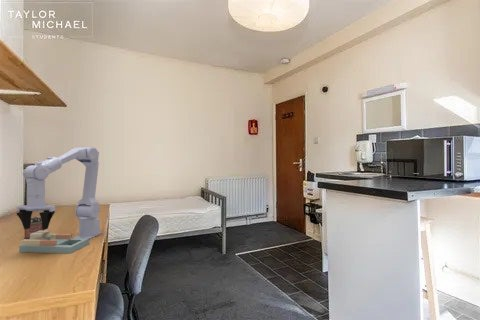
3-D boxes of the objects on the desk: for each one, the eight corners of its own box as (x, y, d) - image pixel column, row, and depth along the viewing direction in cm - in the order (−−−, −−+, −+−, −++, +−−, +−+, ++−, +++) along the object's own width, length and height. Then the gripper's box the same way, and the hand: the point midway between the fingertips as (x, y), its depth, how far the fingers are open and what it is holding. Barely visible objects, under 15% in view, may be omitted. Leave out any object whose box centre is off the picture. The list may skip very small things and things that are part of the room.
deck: (42, 242, 121) (42, 232, 121) (89, 243, 120) (89, 234, 120) (19, 251, 109) (19, 241, 109) (70, 253, 108) (70, 242, 108)
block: (39, 239, 118) (39, 230, 118) (50, 239, 117) (50, 230, 117) (29, 243, 113) (29, 233, 113) (41, 243, 112) (41, 234, 112)
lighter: (43, 235, 133) (43, 215, 133) (45, 236, 131) (45, 216, 131) (23, 238, 127) (23, 217, 127) (25, 240, 125) (25, 218, 125)
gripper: (9, 196, 103) (9, 231, 103) (45, 196, 102) (45, 232, 103) (25, 193, 110) (25, 226, 110) (59, 194, 110) (59, 227, 110)
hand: (36, 228), depth 107 cm, fingers open, 7 cm apart
